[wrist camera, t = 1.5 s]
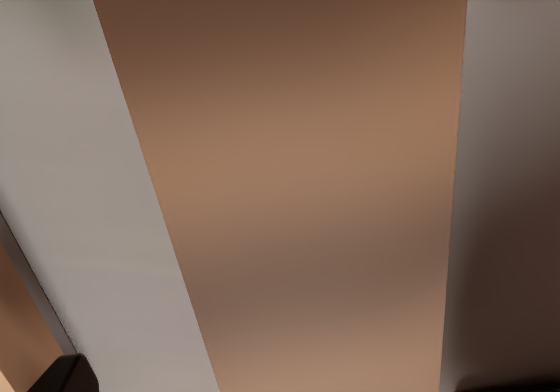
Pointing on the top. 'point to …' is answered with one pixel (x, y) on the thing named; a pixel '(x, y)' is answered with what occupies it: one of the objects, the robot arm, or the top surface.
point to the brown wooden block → (302, 178)
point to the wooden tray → (25, 321)
